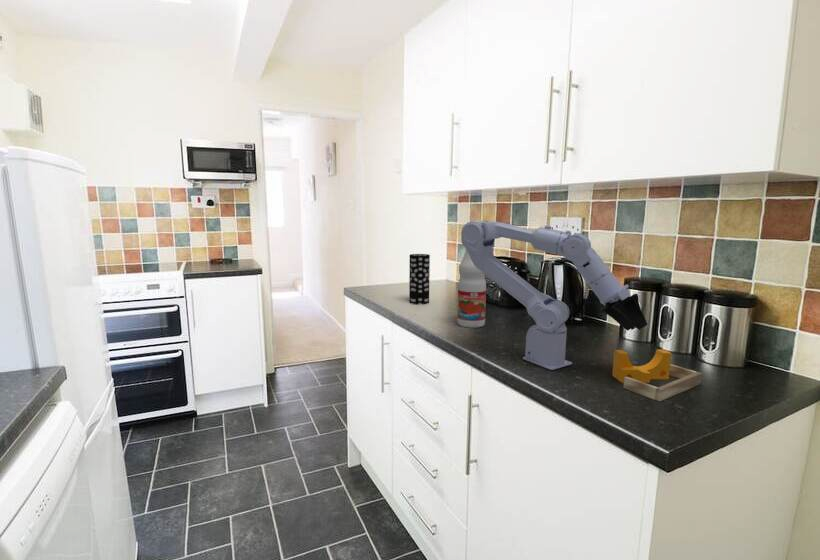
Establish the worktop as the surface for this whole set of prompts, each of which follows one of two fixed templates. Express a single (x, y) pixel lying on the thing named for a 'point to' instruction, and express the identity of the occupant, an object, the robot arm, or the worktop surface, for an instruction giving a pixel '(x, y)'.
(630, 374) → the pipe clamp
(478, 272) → the fruit juice
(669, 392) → the tray
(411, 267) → the spotted tube
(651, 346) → the worktop surface
